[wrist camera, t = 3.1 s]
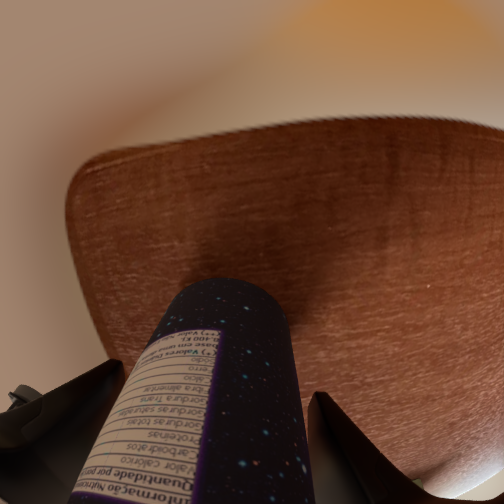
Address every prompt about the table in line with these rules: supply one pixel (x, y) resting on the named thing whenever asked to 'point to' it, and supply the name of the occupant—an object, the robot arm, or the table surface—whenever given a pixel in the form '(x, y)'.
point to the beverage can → (207, 409)
